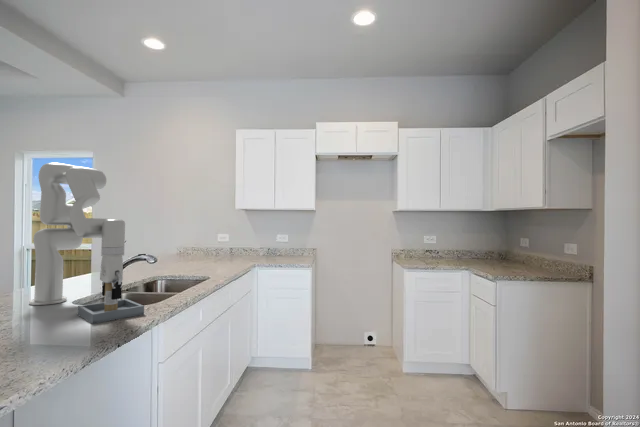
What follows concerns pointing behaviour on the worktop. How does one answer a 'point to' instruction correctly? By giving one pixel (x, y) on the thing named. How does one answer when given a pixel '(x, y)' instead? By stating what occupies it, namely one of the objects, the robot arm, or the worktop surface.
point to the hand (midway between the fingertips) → (111, 297)
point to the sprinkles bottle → (109, 298)
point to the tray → (97, 314)
